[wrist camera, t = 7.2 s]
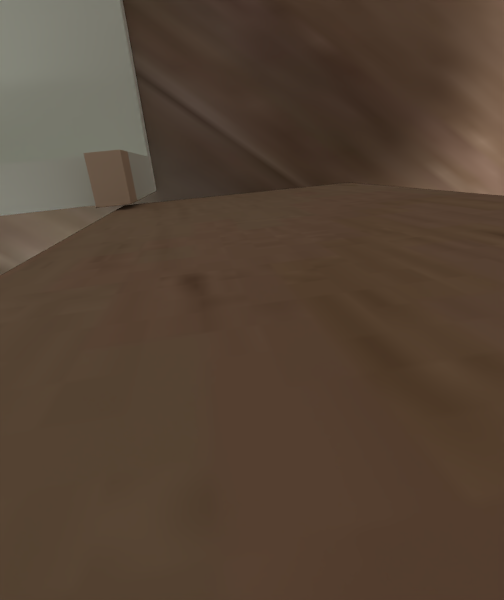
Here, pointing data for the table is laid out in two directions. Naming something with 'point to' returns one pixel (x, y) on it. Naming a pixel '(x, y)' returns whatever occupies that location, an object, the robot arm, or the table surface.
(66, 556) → the wooden block
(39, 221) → the table surface
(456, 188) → the table surface
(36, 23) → the pale green tray
